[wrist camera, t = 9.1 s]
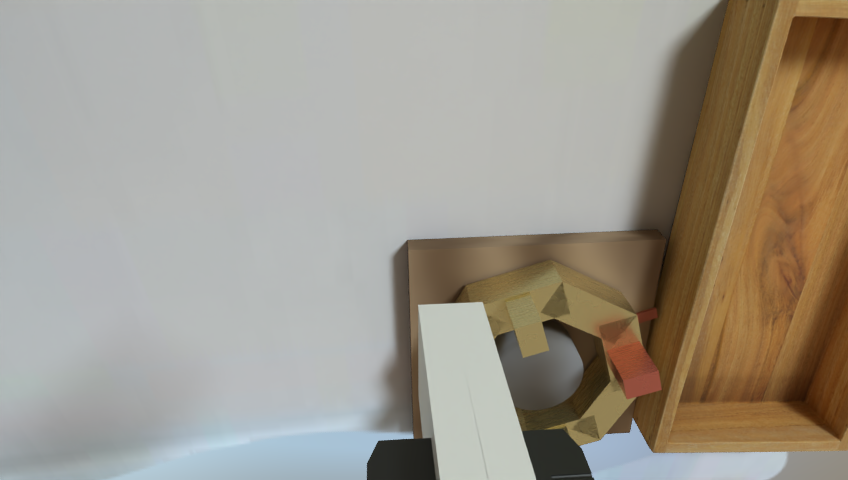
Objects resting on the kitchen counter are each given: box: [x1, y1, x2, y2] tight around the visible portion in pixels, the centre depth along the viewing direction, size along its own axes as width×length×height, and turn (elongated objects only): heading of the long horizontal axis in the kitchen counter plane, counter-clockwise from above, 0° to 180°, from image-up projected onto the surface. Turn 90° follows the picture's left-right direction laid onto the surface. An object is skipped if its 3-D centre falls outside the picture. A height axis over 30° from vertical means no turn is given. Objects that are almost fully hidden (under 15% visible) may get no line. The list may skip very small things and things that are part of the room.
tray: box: [633, 0, 848, 453], centre depth 39 cm, size 31×15×6 cm, turn 177°
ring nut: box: [455, 260, 662, 446], centre depth 40 cm, size 14×14×6 cm
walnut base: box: [408, 230, 666, 439], centre depth 42 cm, size 17×17×4 cm
